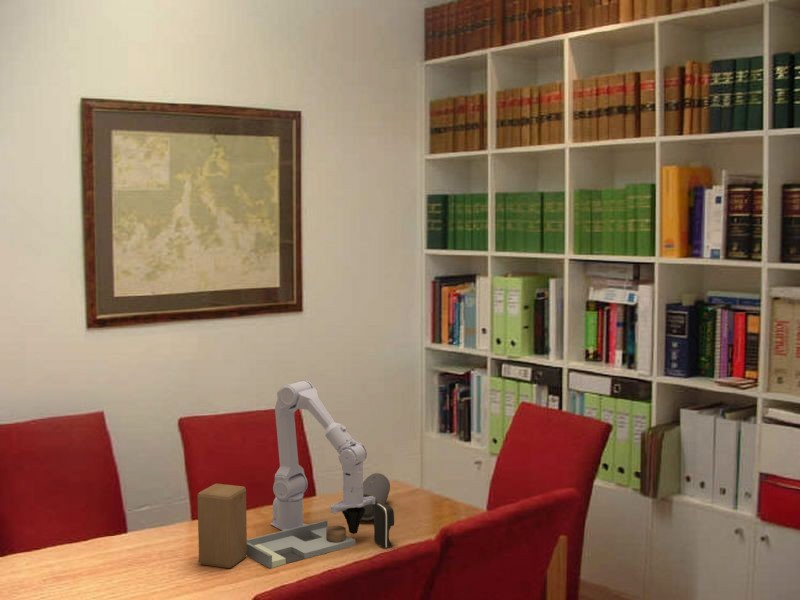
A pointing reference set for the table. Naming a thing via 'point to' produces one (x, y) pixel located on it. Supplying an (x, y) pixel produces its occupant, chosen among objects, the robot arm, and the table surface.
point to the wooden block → (222, 525)
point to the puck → (336, 534)
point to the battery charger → (383, 524)
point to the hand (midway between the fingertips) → (353, 532)
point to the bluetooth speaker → (375, 492)
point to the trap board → (293, 545)
